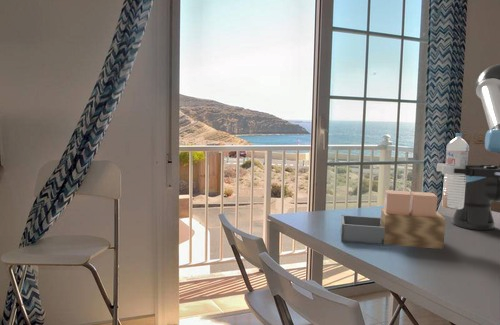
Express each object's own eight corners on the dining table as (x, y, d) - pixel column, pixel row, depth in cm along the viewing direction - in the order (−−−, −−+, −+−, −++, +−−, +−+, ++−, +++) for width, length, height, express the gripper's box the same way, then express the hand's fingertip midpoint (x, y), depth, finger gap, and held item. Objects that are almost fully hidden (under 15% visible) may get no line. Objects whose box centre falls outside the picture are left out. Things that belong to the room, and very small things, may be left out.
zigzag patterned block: (435, 238, 152) (437, 211, 151) (443, 249, 140) (445, 219, 139) (379, 234, 155) (381, 207, 154) (383, 244, 144) (385, 215, 143)
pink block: (405, 210, 150) (407, 191, 150) (409, 215, 143) (410, 194, 143) (383, 209, 152) (384, 189, 151) (386, 213, 145) (387, 193, 144)
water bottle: (466, 210, 139) (473, 134, 136) (444, 209, 140) (450, 133, 138) (460, 206, 146) (466, 133, 143) (439, 204, 147) (445, 132, 144)
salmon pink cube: (431, 212, 149) (432, 192, 148) (435, 217, 142) (437, 196, 141) (408, 211, 150) (410, 191, 149) (412, 215, 143) (413, 194, 143)
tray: (379, 233, 157) (380, 217, 156) (383, 245, 142) (385, 227, 142) (340, 230, 159) (341, 214, 159) (341, 241, 145) (342, 224, 144)
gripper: (527, 188, 129) (446, 184, 133) (501, 179, 148) (432, 175, 153) (529, 164, 128) (448, 160, 133) (504, 158, 148) (433, 154, 152)
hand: (439, 168), depth 143 cm, fingers closed on water bottle, 7 cm apart
